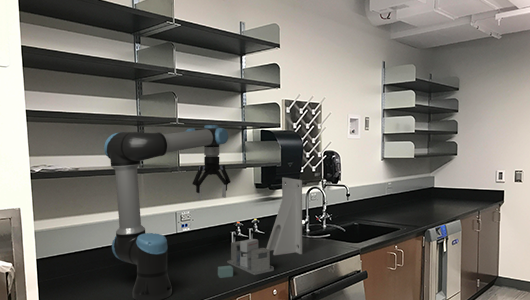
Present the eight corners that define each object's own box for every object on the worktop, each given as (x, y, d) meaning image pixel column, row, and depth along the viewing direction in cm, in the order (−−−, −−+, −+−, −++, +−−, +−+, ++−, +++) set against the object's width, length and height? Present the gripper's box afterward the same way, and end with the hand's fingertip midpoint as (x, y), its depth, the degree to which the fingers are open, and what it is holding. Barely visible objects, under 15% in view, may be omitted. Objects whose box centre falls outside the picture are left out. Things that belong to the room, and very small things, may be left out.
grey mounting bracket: (261, 248, 236) (261, 178, 236) (283, 245, 243) (283, 177, 242) (278, 257, 219) (278, 181, 218) (302, 254, 225) (302, 180, 224)
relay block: (220, 278, 186) (220, 269, 186) (217, 275, 190) (217, 266, 190) (233, 276, 188) (233, 267, 188) (230, 274, 192) (230, 265, 192)
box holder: (254, 275, 190) (254, 253, 190) (227, 262, 209) (227, 242, 209) (273, 270, 196) (273, 249, 196) (245, 259, 216) (245, 239, 215)
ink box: (251, 261, 207) (251, 238, 207) (259, 263, 204) (259, 239, 204) (239, 265, 201) (239, 241, 201) (247, 267, 198) (247, 242, 197)
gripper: (192, 156, 198) (192, 201, 199) (237, 155, 213) (237, 197, 213) (185, 156, 204) (185, 199, 205) (229, 155, 219) (229, 195, 219)
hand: (212, 198), depth 209 cm, fingers open, 13 cm apart
